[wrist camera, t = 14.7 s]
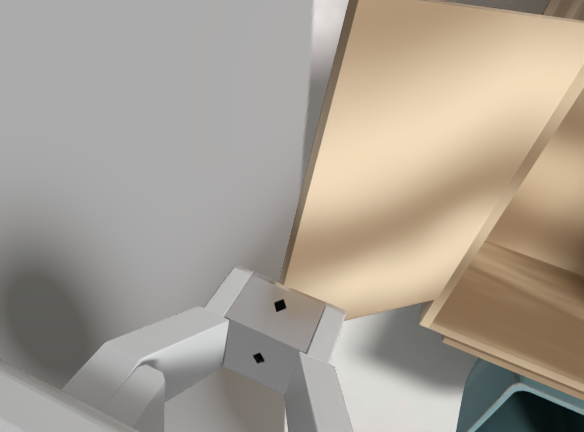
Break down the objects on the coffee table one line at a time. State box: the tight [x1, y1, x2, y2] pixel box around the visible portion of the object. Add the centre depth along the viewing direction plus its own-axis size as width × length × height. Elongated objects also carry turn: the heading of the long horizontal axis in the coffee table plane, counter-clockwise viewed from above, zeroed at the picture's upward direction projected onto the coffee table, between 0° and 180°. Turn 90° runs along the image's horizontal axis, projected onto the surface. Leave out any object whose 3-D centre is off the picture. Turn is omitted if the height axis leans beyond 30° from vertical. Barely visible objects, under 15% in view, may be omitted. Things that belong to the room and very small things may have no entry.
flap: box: [279, 0, 584, 321], centre depth 15 cm, size 13×9×1 cm
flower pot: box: [456, 358, 584, 432], centre depth 29 cm, size 9×9×9 cm
